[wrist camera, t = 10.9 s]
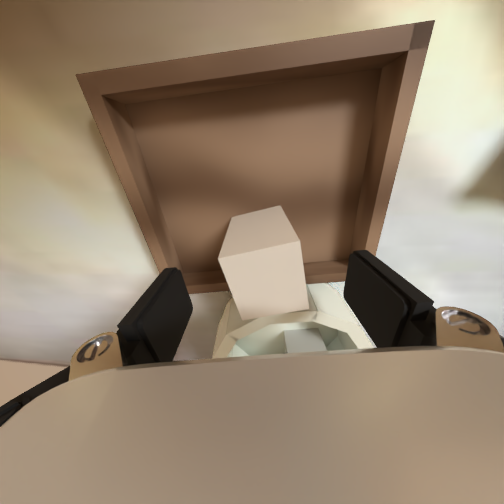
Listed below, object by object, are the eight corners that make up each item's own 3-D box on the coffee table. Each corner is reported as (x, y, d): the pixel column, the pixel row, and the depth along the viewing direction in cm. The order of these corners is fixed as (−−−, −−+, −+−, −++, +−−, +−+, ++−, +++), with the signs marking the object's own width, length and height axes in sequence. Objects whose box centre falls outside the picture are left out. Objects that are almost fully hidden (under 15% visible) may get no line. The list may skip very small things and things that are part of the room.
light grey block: (283, 330, 18) (296, 400, 13) (318, 327, 18) (344, 398, 13) (284, 354, 20) (296, 423, 15) (316, 351, 20) (338, 422, 15)
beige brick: (231, 217, 13) (217, 258, 8) (280, 205, 13) (300, 240, 7) (245, 262, 15) (242, 320, 10) (288, 253, 15) (309, 308, 9)
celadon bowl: (210, 279, 16) (196, 319, 12) (356, 267, 16) (391, 305, 12) (232, 362, 22) (228, 407, 19) (338, 356, 22) (357, 401, 18)
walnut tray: (109, 90, 10) (75, 74, 8) (396, 48, 9) (435, 19, 7) (179, 278, 16) (169, 295, 14) (354, 263, 16) (369, 279, 14)
